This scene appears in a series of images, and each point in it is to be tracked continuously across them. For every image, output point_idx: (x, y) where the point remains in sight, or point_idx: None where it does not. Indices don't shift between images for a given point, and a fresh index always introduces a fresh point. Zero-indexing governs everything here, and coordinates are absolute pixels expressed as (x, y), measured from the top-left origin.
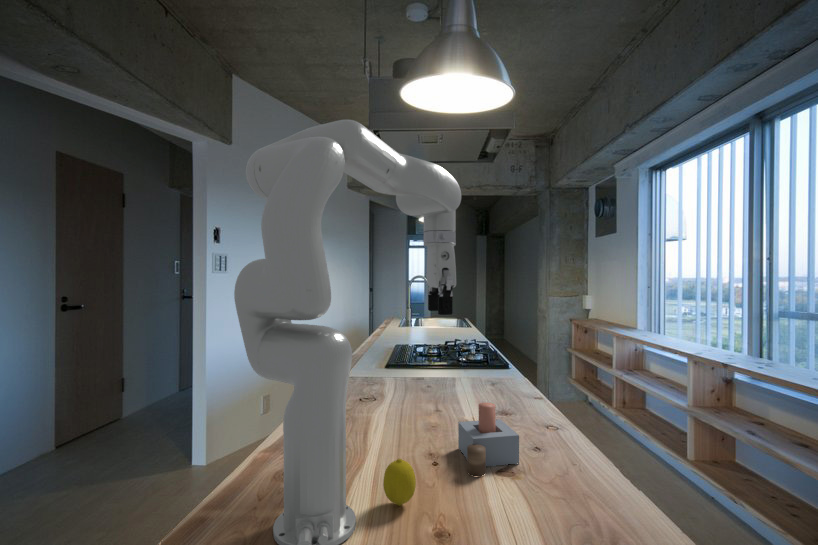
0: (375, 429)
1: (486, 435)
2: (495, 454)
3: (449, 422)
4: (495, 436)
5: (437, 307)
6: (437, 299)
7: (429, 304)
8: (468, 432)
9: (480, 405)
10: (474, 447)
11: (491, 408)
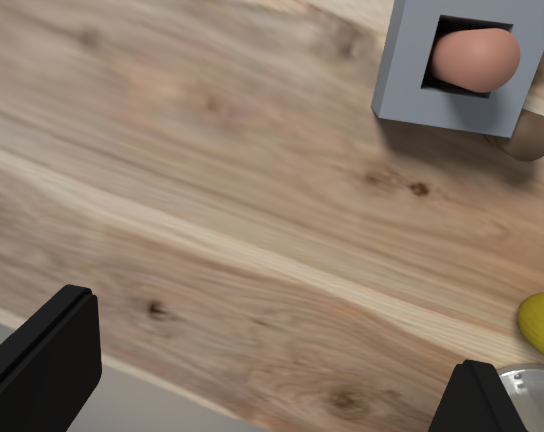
0: (196, 241)
1: (511, 90)
2: None
3: (193, 48)
4: (531, 68)
5: (82, 335)
6: (26, 401)
7: (71, 420)
8: (464, 128)
9: (478, 86)
10: (526, 142)
11: (517, 59)
